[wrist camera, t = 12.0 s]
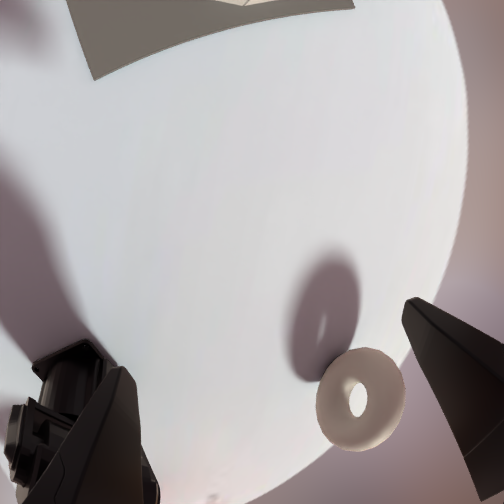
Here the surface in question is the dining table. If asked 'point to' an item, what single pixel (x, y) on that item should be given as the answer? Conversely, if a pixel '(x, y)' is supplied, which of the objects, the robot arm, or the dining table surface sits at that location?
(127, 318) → the dining table surface
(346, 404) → the donut
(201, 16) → the collar holder
